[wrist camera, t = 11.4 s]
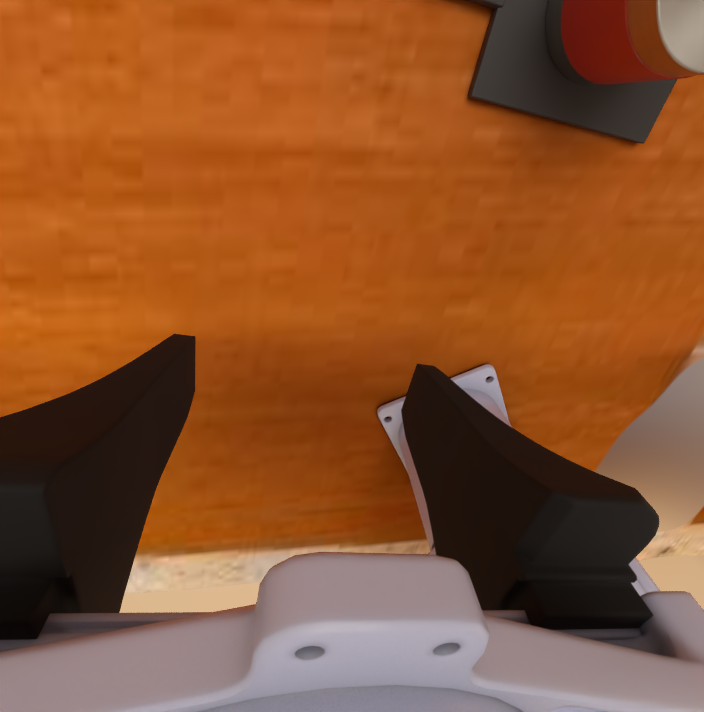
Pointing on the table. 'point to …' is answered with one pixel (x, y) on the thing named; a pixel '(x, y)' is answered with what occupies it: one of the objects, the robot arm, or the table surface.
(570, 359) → the table surface
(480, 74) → the spatula
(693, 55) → the tin
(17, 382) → the table surface
